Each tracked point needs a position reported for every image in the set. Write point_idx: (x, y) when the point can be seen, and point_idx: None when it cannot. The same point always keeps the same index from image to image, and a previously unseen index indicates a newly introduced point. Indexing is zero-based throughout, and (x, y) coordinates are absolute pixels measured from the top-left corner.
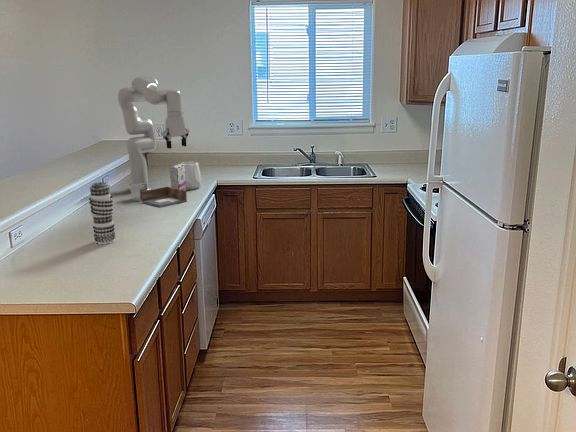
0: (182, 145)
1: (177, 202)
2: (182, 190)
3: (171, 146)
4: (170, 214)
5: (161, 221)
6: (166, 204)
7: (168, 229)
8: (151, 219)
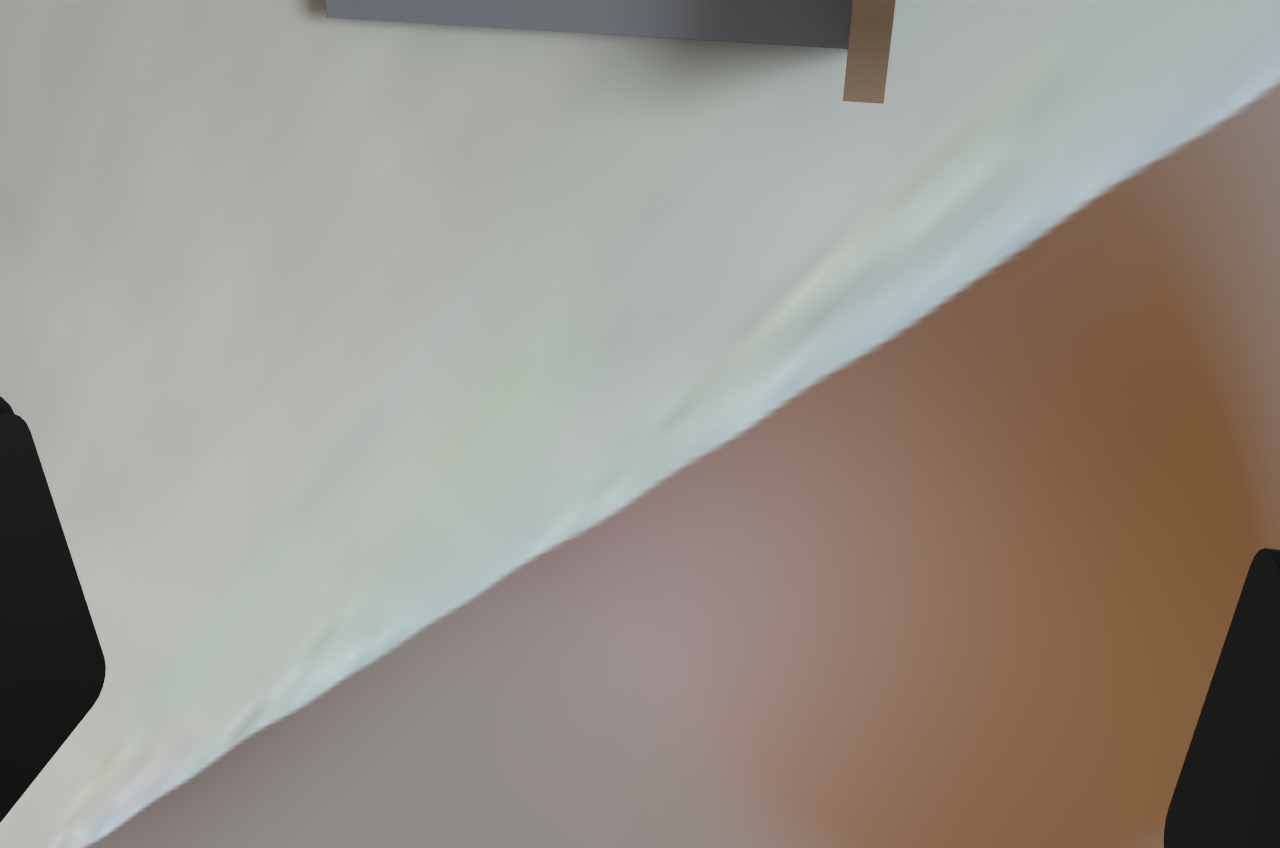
0: (1240, 632)
1: (677, 35)
2: (853, 21)
3: (49, 759)
4: (264, 425)
5: None
6: (447, 23)
7: None
8: None
